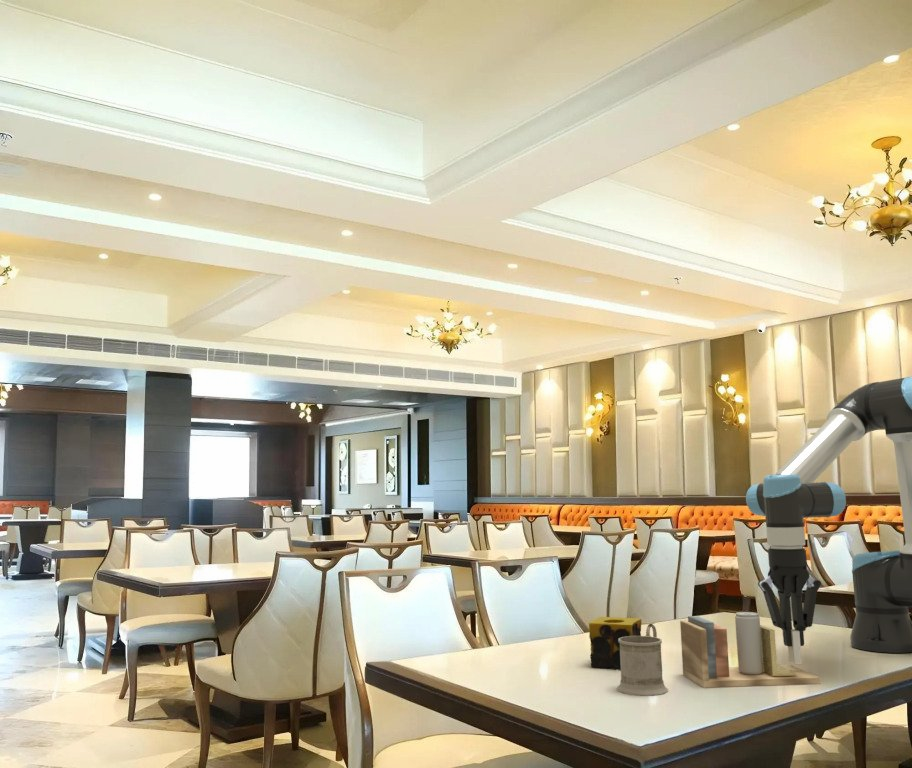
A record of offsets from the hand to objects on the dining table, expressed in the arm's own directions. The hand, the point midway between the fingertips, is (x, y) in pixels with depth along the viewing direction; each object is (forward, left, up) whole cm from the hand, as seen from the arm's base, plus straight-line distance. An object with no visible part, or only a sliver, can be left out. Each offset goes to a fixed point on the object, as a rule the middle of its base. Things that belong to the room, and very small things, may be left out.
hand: (795, 662), depth 171 cm
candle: (+33, -18, -3) cm, 38 cm away
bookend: (+5, 0, -2) cm, 5 cm away
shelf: (+10, 0, -3) cm, 11 cm away
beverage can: (+10, 0, -2) cm, 10 cm away
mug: (+33, +4, -3) cm, 34 cm away
